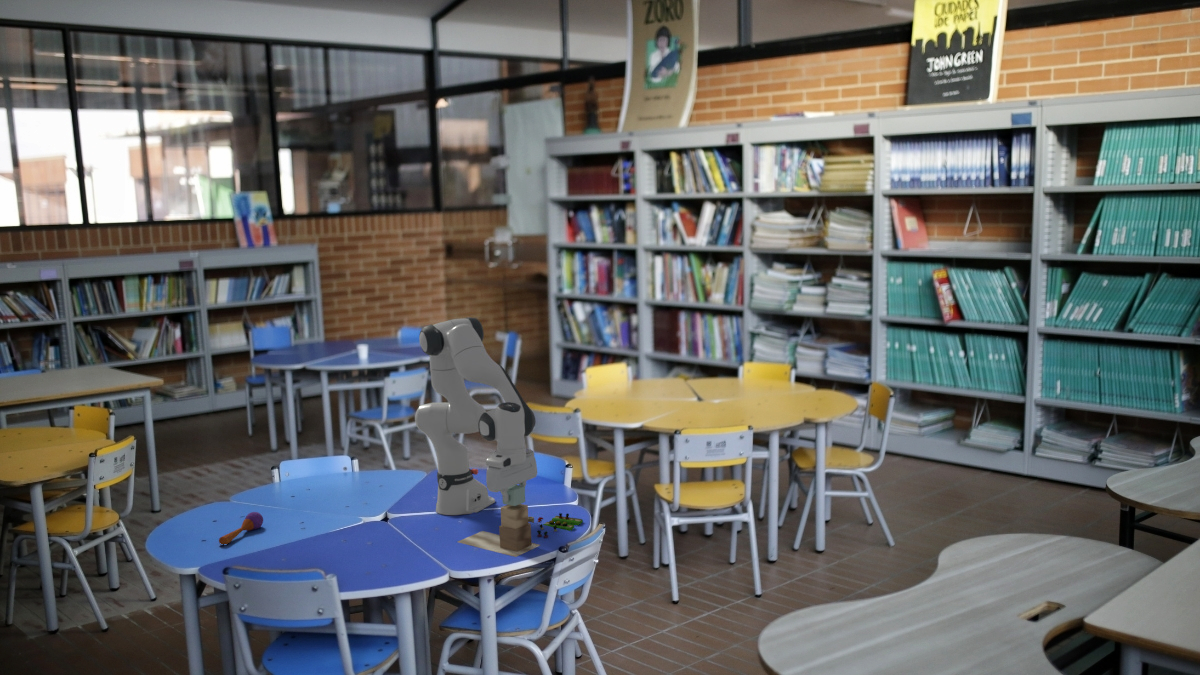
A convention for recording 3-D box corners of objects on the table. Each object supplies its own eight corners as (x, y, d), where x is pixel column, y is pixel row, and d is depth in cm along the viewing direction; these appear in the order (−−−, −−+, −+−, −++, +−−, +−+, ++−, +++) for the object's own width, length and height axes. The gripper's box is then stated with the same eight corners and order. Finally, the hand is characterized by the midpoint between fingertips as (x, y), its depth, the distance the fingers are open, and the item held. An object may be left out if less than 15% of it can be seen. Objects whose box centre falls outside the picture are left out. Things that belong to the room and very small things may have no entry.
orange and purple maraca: (213, 534, 320) (249, 510, 339) (218, 551, 321) (254, 526, 340) (228, 532, 319) (263, 508, 337) (233, 548, 320) (268, 524, 338)
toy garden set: (550, 546, 311) (550, 532, 311) (499, 539, 320) (498, 525, 319) (583, 524, 332) (582, 511, 331) (534, 517, 340) (533, 504, 340)
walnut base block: (514, 540, 312) (513, 519, 311) (531, 544, 307) (530, 523, 306) (500, 547, 306) (499, 526, 305) (517, 551, 302) (516, 530, 301)
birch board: (482, 535, 322) (482, 530, 322) (541, 549, 307) (540, 544, 307) (456, 546, 313) (456, 541, 312) (515, 561, 298) (515, 556, 298)
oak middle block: (514, 520, 310) (513, 502, 309) (528, 523, 306) (527, 505, 306) (501, 525, 305) (500, 507, 304) (515, 529, 302) (515, 510, 301)
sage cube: (513, 499, 308) (512, 483, 308) (525, 501, 305) (524, 486, 305) (502, 503, 304) (502, 488, 304) (514, 506, 301) (514, 490, 301)
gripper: (525, 446, 313) (527, 488, 315) (482, 461, 296) (484, 505, 298) (541, 449, 309) (542, 491, 311) (497, 464, 293) (499, 508, 295)
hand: (513, 498), depth 305 cm, fingers closed on sage cube, 5 cm apart
